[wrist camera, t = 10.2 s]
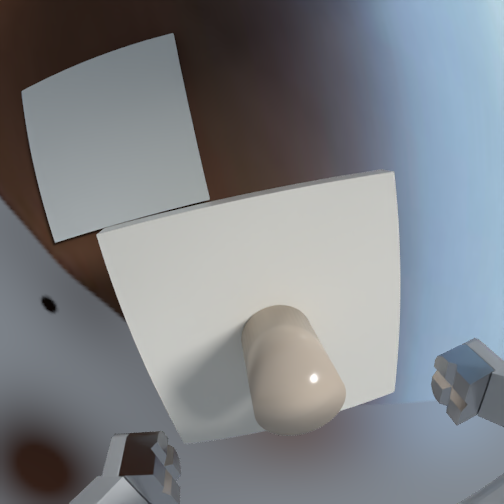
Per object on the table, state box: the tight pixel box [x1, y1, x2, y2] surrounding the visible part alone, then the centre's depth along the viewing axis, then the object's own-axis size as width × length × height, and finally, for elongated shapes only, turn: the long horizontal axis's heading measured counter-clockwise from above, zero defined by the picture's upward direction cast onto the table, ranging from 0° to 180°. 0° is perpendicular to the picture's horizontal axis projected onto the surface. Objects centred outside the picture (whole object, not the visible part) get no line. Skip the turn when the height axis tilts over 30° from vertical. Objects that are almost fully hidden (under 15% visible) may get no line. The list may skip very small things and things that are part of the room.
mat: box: [21, 33, 210, 243], centre depth 18 cm, size 11×11×1 cm
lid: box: [96, 170, 400, 444], centre depth 11 cm, size 11×11×5 cm
